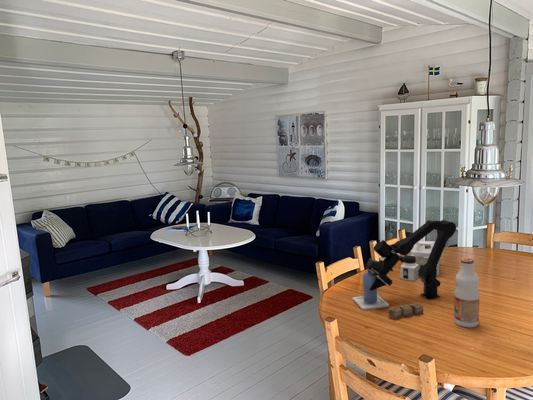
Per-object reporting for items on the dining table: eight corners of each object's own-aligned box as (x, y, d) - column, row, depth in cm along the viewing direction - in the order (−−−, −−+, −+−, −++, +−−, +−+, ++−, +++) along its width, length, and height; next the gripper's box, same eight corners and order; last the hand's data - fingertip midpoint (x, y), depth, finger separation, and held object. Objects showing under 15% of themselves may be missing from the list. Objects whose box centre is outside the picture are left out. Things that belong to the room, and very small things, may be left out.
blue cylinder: (379, 299, 198) (379, 274, 196) (372, 304, 194) (371, 278, 192) (368, 296, 203) (367, 271, 201) (360, 300, 198) (360, 275, 196)
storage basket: (440, 277, 227) (440, 252, 225) (410, 275, 233) (409, 250, 231) (439, 264, 249) (439, 241, 247) (411, 263, 255) (411, 240, 253)
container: (414, 281, 224) (414, 258, 222) (400, 279, 228) (400, 256, 226) (418, 277, 230) (418, 254, 228) (405, 274, 234) (404, 253, 233)
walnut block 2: (412, 316, 182) (412, 308, 181) (404, 318, 181) (404, 309, 180) (407, 313, 186) (407, 304, 185) (399, 314, 185) (399, 305, 184)
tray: (377, 296, 206) (377, 294, 206) (389, 307, 193) (389, 304, 193) (352, 299, 204) (352, 297, 204) (362, 310, 191) (362, 308, 191)
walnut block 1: (401, 317, 182) (401, 309, 181) (396, 320, 179) (396, 311, 179) (394, 314, 185) (394, 306, 184) (388, 317, 182) (388, 309, 182)
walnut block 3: (423, 314, 184) (423, 305, 183) (416, 316, 182) (416, 307, 182) (416, 310, 187) (416, 302, 187) (409, 312, 186) (409, 304, 185)
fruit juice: (470, 330, 166) (471, 264, 162) (449, 322, 174) (450, 259, 170) (483, 323, 171) (484, 259, 167) (462, 316, 179) (463, 254, 175)
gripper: (369, 248, 204) (349, 271, 205) (385, 258, 186) (363, 284, 186) (384, 261, 207) (364, 284, 207) (401, 273, 188) (379, 298, 189)
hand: (367, 287), depth 197 cm, fingers closed on blue cylinder, 6 cm apart
